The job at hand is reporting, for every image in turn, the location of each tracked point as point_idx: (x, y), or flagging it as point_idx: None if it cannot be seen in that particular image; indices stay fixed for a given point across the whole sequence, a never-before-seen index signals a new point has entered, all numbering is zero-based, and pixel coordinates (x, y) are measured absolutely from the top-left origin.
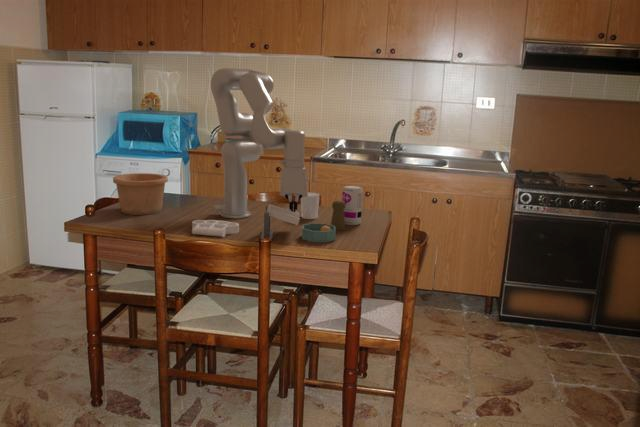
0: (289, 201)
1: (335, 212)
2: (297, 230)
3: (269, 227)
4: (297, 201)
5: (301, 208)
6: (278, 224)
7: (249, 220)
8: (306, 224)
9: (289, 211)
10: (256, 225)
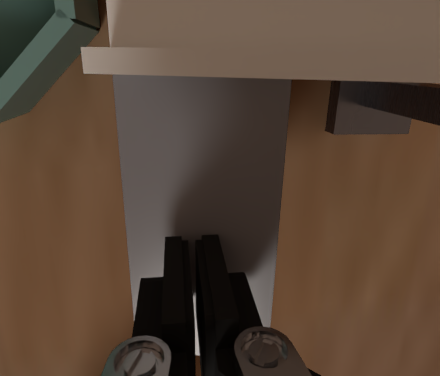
0: (272, 329)
1: None
2: None
3: (382, 82)
4: (124, 344)
5: None
6: (279, 311)
7: (432, 359)
8: (32, 57)
9: (251, 49)
10: (412, 269)
